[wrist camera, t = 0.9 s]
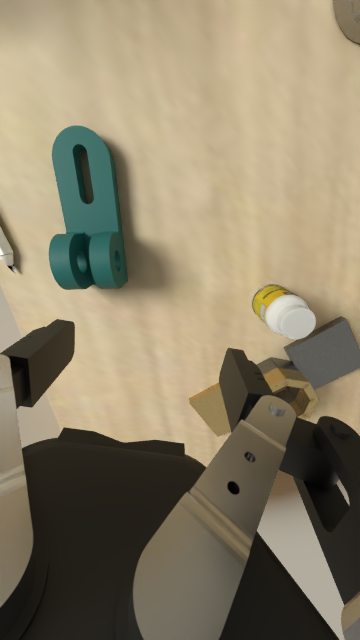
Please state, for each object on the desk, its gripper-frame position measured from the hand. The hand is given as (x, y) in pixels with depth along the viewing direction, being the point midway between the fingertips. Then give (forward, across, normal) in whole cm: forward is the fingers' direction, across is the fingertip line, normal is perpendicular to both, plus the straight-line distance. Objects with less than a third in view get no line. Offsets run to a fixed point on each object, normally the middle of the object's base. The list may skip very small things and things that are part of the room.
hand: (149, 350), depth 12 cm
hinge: (+23, -21, +16) cm, 35 cm away
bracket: (+24, +11, -6) cm, 27 cm away
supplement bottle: (+24, -16, +2) cm, 28 cm away
